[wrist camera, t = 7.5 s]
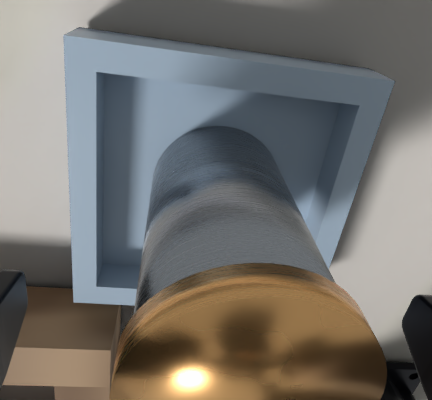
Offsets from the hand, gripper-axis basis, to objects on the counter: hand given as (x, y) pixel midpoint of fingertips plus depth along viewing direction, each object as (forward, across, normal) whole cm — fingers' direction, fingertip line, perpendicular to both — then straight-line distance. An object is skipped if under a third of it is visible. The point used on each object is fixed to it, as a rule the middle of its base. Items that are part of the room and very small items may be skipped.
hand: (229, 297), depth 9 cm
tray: (+6, 0, 0) cm, 6 cm away
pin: (+6, 0, 0) cm, 6 cm away
